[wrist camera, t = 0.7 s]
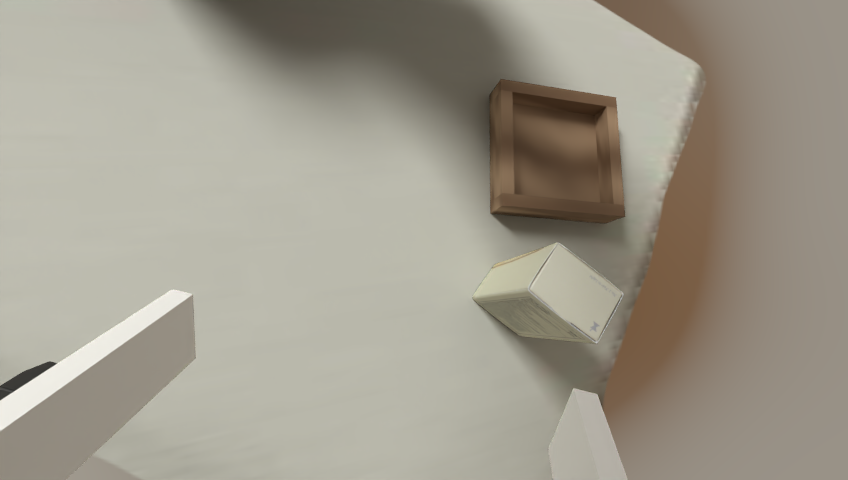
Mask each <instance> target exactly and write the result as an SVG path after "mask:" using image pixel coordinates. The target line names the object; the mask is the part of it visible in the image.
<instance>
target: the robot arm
mask: <svg viewBox="0 0 848 480" xmlns="http://www.w3.org/2000/svg"><path fill="white" fill-rule="evenodd" d="M195 358H196V354H195V331H194V308H193V294H190V293H186V292H182V291H177V290H173V289H172V290H170V291H169V292H167V293H166V294H164V295H162V296H161V297H159V298H158V299H156V300H155V301H153V302H152V303H150V304H149V305H147V306H146V307H144V308H142V309H141V310H139V311H138V312H136V313H135V314H133V315H132V316H130V317H129V318H127V319H125V320H124V321H122V322H121V323H119V324H118V325H116V326H115V327H113V328H112V329H110V330H108V331H107V332H105V333H104V334H102V335H101V336H99V337H98V338H96V339H95V340H93V341H91V342H90V343H88V344H87V345H85V346H84V347H82V348H81V349H79V350H78V351H76V352H74V353H73V354H71V355H70V356H68V357H67V358H65V359H64V360H62V361H61V362H59V363H54V362H50V361H49V362H47V363H44V364H42V365H39V366H36V367H34V368H31V369H29V370H26V371H24V372H22V373H20V374H19V375H17V376H15V377H14V378H12V379H11V380H9V381H7V382H6V383H4V384H2V385H1V386H0V480H66V479H67V478H68V477H69V476H70V475H71V474H72V473H73V472H74V471H76V470H77V469H78V468H79V467H80V466H81V465H82V464H83V463H84V462H85V461H86V460H87V459H88V458H90V457H91V456H92V455H93V454H94V453H95V452H96V451H97V450H98V449H99V448H100V447H101V446H102V445H103V444H104V443H106V442H107V441H108V440H109V439H110V438H111V437H112V436H113V435H114V434H115V433H116V432H117V431H118V430H119V429H121V428H122V427H123V426H124V425H125V424H126V423H127V422H128V421H129V420H130V419H131V418H132V417H133V416H134V415H135V414H137V413H138V412H139V411H140V410H141V409H142V408H143V407H144V406H145V405H146V404H147V403H148V402H149V401H150V400H151V399H153V398H154V397H155V396H156V395H157V394H158V393H159V392H160V391H161V390H162V389H163V388H164V387H165V386H166V385H168V384H169V383H170V382H171V381H172V380H173V379H174V378H175V377H176V376H177V375H178V374H179V373H180V372H181V371H182V370H184V369H185V368H186V367H187V366H188V365H189V364H190V363H191V362H192V361H193V360H194V359H195ZM548 452H549V458H550V464H551V470H552V476H553V480H628V479H627V476H626V473H625V471H624V468H623V465H622V462H621V459H620V456H619V454H618V451H617V448H616V445H615V442H614V440H613V437H612V434H611V431H610V429H609V426H608V423H607V420H606V417H605V414H604V412H603V409H602V406H601V403H600V400H599V398H598V395H597V394H595V393H591V392H587V391H583V390H579V389H575V388H573V390H572V393H571V395H570V397H569V400H568V402H567V405H566V407H565V409H564V412H563V414H562V417H561V419H560V421H559V424H558V426H557V429H556V431H555V433H554V436H553V438H552V441H551V443H550V445H549V448H548Z"/></svg>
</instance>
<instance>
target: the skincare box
mask: <svg viewBox="0 0 848 480" xmlns="http://www.w3.org/2000/svg"><path fill="white" fill-rule="evenodd" d="M623 296H624V294H623V292H622V291H621V290H619V289H618V288H617V287H616V286H615V285H614V284H612V283H611V282H610V281H609V280H607V279H606V278H605V277H604V276H602V275H601V274H600V273H599V272H597V271H596V270H595V269H594V268H592V267H591V266H590V265H588V264H587V263H586V262H585V261H583V260H582V259H581V258H579V257H578V256H577V255H575V254H574V253H573V252H571V251H570V250H569V249H567V248H566V247H565V246H563V245H562V244H561V243H559V242H557V243H555V244H552V245H549V246H546V247H543V248H540V249H537V250H535V251H532V252H529V253H526V254H523V255H520V256H517V257H515V258H512V259H509V260H506V261H503V262H500V263H497V264H495V265H494V266H493V268H492V269H491V270H490V272H489V273H488V275H487V276H486V277H485V279H484V280H483V282H482V283H481V285H480V286H479V287H478V289H477V290H476V292H475V293H474V295H473V297H472V298H473V300H474V301H476V302H477V303H478V304H479V305H481V306H482V307H483V308H484V309H485V310H487V311H488V312H489V313H490V314H492V315H493V316H494V317H495V318H497V319H498V320H499V321H501V322H502V323H503V324H504V325H506V326H507V327H508V328H510V329H511V330H512V331H514V332H515V333H516V334H518V335H519V336H524V337H534V338H543V339H554V340H563V341H573V342H583V343H592V344H598V342H599V340H600V338H601V337H602V335H603V333H604V331H605V329H606V328H607V326H608V324H609V322H610V320H611V319H612V317H613V315H614V313H615V311H616V310H617V308H618V306H619V304H620V302H621V300H622V298H623Z"/></svg>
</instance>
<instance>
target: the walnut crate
mask: <svg viewBox="0 0 848 480" xmlns="http://www.w3.org/2000/svg"><path fill="white" fill-rule="evenodd" d="M490 213H491V214H502V215H514V216H525V217H537V218H549V219H560V220H572V221H584V222H595V223H608V222H611V221H614V220H616V219H619V218H622V217H625V210H624V197H623V184H622V170H621V157H620V144H619V131H618V118H617V105H616V97H610V96H603V95H597V94H591V93H585V92H579V91H572V90H566V89H560V88H554V87H547V86H541V85H535V84H529V83H523V82H516V81H510V80H504V79H501V80H500V81H499V82H498V84H497V85H496V87H495V88H494V90H493V91H492V92H491V94H490Z"/></svg>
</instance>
